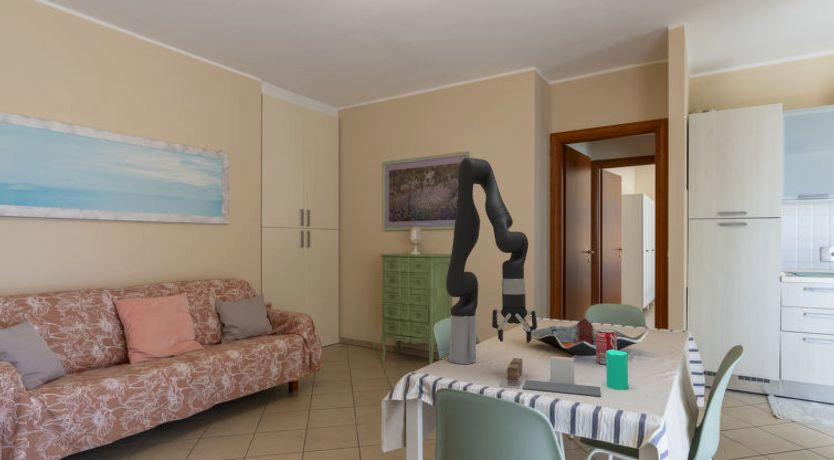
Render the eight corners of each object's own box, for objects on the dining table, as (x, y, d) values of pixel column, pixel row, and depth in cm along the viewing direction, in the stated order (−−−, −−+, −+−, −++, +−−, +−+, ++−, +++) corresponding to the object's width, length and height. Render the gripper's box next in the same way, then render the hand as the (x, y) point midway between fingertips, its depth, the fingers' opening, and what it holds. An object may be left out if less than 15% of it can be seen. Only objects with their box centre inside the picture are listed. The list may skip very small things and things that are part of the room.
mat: (522, 389, 141) (522, 387, 141) (525, 381, 149) (525, 379, 149) (600, 397, 134) (600, 395, 134) (600, 388, 141) (600, 386, 142)
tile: (550, 383, 147) (550, 357, 147) (551, 381, 149) (550, 356, 149) (574, 385, 145) (573, 359, 145) (574, 383, 147) (573, 357, 147)
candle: (603, 383, 146) (602, 345, 146) (621, 383, 147) (621, 344, 147) (612, 390, 140) (612, 349, 140) (631, 389, 141) (631, 349, 141)
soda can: (616, 361, 173) (616, 329, 173) (618, 366, 166) (617, 332, 166) (596, 360, 175) (595, 327, 175) (596, 365, 168) (596, 331, 168)
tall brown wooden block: (509, 370, 162) (509, 357, 162) (526, 372, 160) (526, 359, 160) (499, 387, 144) (499, 372, 144) (519, 389, 142) (519, 374, 142)
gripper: (489, 292, 153) (490, 343, 152) (534, 293, 148) (536, 345, 147) (494, 290, 160) (495, 338, 159) (537, 291, 155) (538, 340, 154)
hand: (514, 341), depth 153 cm, fingers open, 8 cm apart
